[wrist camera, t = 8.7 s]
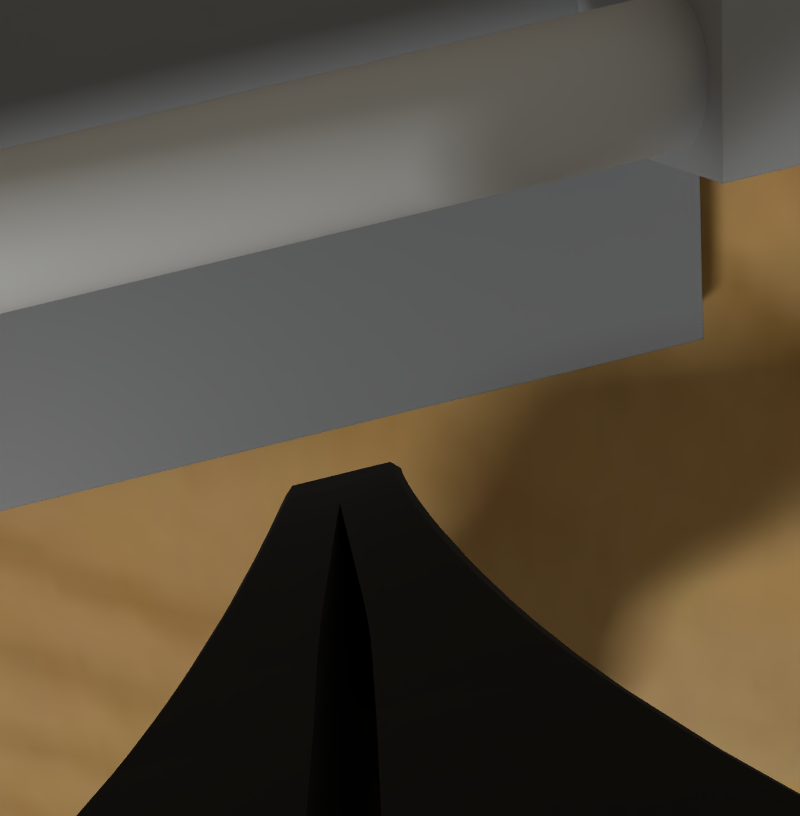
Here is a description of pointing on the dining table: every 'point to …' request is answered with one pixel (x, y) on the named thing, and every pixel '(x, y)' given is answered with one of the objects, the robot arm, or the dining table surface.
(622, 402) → the dining table surface
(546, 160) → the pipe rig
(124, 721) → the dining table surface
